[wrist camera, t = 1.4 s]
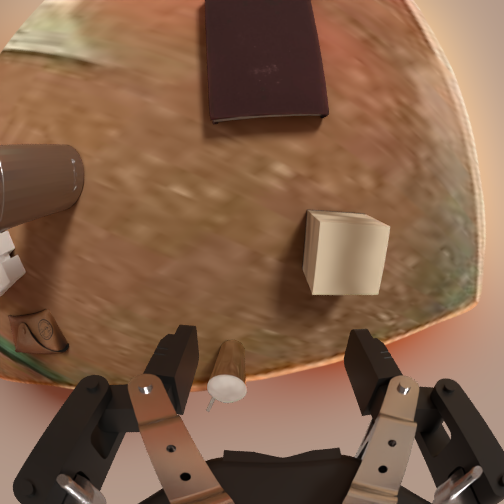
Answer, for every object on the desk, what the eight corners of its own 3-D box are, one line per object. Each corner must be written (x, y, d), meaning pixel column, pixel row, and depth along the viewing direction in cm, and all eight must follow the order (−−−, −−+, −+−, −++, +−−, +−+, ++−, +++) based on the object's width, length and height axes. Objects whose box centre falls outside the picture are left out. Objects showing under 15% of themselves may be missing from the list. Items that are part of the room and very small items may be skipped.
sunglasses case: (48, 305, 35) (38, 339, 31) (73, 325, 41) (67, 358, 36) (6, 315, 37) (-2, 342, 33) (28, 331, 42) (21, 357, 38)
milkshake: (206, 350, 36) (191, 401, 26) (232, 329, 35) (223, 382, 25) (229, 368, 37) (221, 420, 27) (256, 349, 36) (254, 402, 26)
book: (304, -8, 21) (307, -20, 18) (324, 119, 27) (331, 114, 24) (207, -2, 22) (202, -15, 19) (213, 125, 28) (207, 120, 25)
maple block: (302, 268, 32) (312, 294, 25) (306, 209, 30) (320, 221, 23) (356, 269, 32) (377, 294, 25) (364, 213, 30) (390, 226, 23)
